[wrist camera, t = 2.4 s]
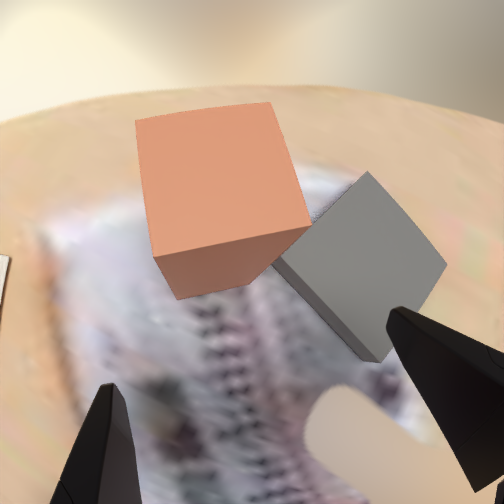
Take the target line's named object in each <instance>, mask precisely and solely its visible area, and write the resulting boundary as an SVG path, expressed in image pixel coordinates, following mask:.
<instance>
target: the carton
mask: <svg viewBox="0 0 504 504" xmlns="http://www.w3.org/2000/svg"><path fill="white" fill-rule="evenodd" d="M135 126H136V137H137V147H138V156H139V165H140V173H141V181H142V189H143V196H144V203H145V210H146V216H147V223H148V229H149V235H150V241H151V247H152V252H153V257H154V259H155V261H156V263H157V265H158V267H159V268H160V270H161V272H162V274H163V276H164V277H165V279H166V281H167V283H168V285H169V286H170V288H171V290H172V292H173V293H174V295H175V297H176V298H177V300H180V299H185V298H190V297H194V296H199V295H203V294H208V293H212V292H217V291H221V290H226V289H230V288H235V287H239V286H243V285H248V284H250V283H251V282H252V281H253V280H254V279H256V278H257V277H258V276H259V275H260V274H261V273H262V272H263V271H264V270H265V269H266V268H267V267H268V266H269V265H271V264H272V263H273V262H274V261H275V260H276V259H277V258H278V257H279V256H280V255H281V254H282V253H283V252H284V251H285V250H287V249H288V248H289V247H290V246H291V245H292V244H293V243H294V242H295V241H296V240H297V239H298V238H299V237H300V236H301V235H302V234H303V233H305V232H306V231H307V230H308V229H309V228H310V227H311V226H312V222H311V219H310V216H309V213H308V210H307V206H306V203H305V200H304V197H303V194H302V191H301V188H300V185H299V182H298V179H297V176H296V173H295V170H294V167H293V164H292V161H291V158H290V155H289V152H288V149H287V146H286V144H285V141H284V138H283V135H282V132H281V130H280V127H279V124H278V121H277V119H276V116H275V113H274V110H273V108H272V105H271V102H267V103H254V104H242V105H232V106H223V107H214V108H207V109H199V110H192V111H185V112H179V113H173V114H167V115H161V116H155V117H150V118H145V119H140V120H135Z"/></svg>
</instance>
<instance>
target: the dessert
mask: <svg viewBox="0 0 504 504" xmlns="http://www.w3.org/2000/svg"><path fill="white" fill-rule="evenodd" d="M8 261H9V256H6V255H2V254H0V304H1V298H2V292H3V286H4V281H5V276H6V271H7V266H8Z"/></svg>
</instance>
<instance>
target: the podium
mask: <svg viewBox="0 0 504 504" xmlns="http://www.w3.org/2000/svg"><path fill="white" fill-rule="evenodd" d="M272 266H273V267H274V268H275V269H276V270H277V271H278V272H279V273H280V274H281V275H282V276H283V277H284V278H285V279H286V280H287V281H288V282H289V283H290V285H291V286H292V287H293V288H294V289H295V290H296V291H297V292H298V293H299V294H300V295H301V296H302V297H303V298H304V299H305V300H306V301H307V302H308V303H309V304H310V305H311V307H312V308H313V309H314V310H315V311H316V312H317V313H318V314H319V315H320V316H321V317H322V318H323V319H324V320H325V321H326V322H327V323H328V324H329V325H330V326H331V328H332V329H333V330H334V331H335V332H336V333H337V334H338V335H339V336H340V337H341V338H342V339H343V340H344V341H345V342H346V343H347V344H348V345H349V346H350V348H351V349H352V350H353V351H354V352H355V353H356V354H357V355H358V356H359V357H360V358H361V359H362V360H363V361H366V362H375V363H381V362H382V361H383V360H384V358H385V357H386V356H387V354H388V353H389V352H390V350H391V349H392V348H393V344H392V342H391V340H390V338H389V336H388V334H387V332H386V323H387V320H388V316H389V313H390V310H391V309H393V308H395V307H398V306H404V307H406V308H408V309H410V310H412V311H415V312H418V311H419V309H420V308H421V306H422V305H423V303H424V302H425V300H426V299H427V297H428V296H429V294H430V292H431V291H432V289H433V288H434V286H435V284H436V283H437V281H438V280H439V278H440V276H441V275H442V273H443V271H444V270H445V268H446V266H447V263H446V262H445V260H444V259H443V258H442V257H441V255H440V254H439V253H438V251H437V250H436V249H435V248H434V246H433V245H432V244H431V243H430V241H429V240H428V239H427V238H426V236H425V235H424V234H423V233H422V232H421V230H420V229H419V228H418V227H417V226H416V224H415V223H414V222H413V221H412V220H411V218H410V217H409V216H408V215H407V214H406V213H405V211H404V210H403V209H402V208H401V207H400V206H399V205H398V203H397V202H396V201H395V200H394V199H393V198H392V197H391V196H390V195H389V193H388V192H387V191H386V190H385V189H384V188H383V187H382V186H381V185H380V184H379V183H378V182H377V181H376V179H375V178H374V177H373V176H372V175H371V174H370V173H369V172H368V171H367V172H366V173H365V174H364V175H363V176H361V177H360V178H359V179H358V180H357V181H356V182H355V183H354V184H353V185H352V186H351V187H350V188H349V189H348V190H347V191H346V192H345V193H344V194H343V195H342V196H341V197H340V198H339V199H338V200H337V201H336V202H335V203H334V204H333V205H332V206H331V207H330V208H329V209H328V210H327V211H326V212H325V213H324V214H323V215H322V216H321V217H320V218H319V219H318V220H317V221H316V222H315V223H314V224H313V225H312V226H311V227H310V228H309V229H308V230H307V231H306V232H305V233H304V234H303V235H302V236H301V237H300V238H299V239H298V240H297V241H295V242H294V243H293V244H292V245H291V246H290V247H289V248H288V249H287V250H286V251H285V252H284V253H283V254H282V255H281V256H280V257H279V258H278V259H277V260H276V261H275V262H274V263H273V264H272Z"/></svg>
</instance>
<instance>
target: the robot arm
mask: <svg viewBox="0 0 504 504" xmlns="http://www.w3.org/2000/svg"><path fill="white" fill-rule="evenodd" d="M386 332H387V334H388V336H389V338H390V340H391V342H392V344H393V346H394V348H395V350H396V352H397V354H398V356H399V358H400V360H401V362H402V364H403V366H404V368H405V370H406V371H407V373H408V375H409V376H410V378H411V380H412V381H413V383H414V385H415V386H416V388H417V390H418V391H419V393H420V395H421V396H422V398H423V400H424V401H425V403H426V405H427V406H428V408H429V410H430V411H431V413H432V415H433V417H434V418H435V420H436V422H437V424H438V425H439V427H440V429H441V431H442V432H443V434H444V436H445V438H446V440H447V441H448V443H449V445H450V447H451V449H452V450H453V452H454V454H455V456H456V458H457V460H458V462H459V464H460V465H461V467H462V469H463V471H464V473H465V475H466V477H467V479H468V481H469V482H470V485H471V487H472V488H473V490H474V492H475V493H476V492H478V491H479V490H481V489H483V488H484V487H486V486H487V485H489V484H490V483H492V482H494V481H495V480H497V479H498V478H499V477H501V476H502V475H504V353H502V352H500V351H498V350H496V349H493V348H491V347H489V346H487V345H485V344H483V343H481V342H479V341H476V340H474V339H472V338H470V337H468V336H466V335H464V334H462V333H460V332H457V331H455V330H453V329H451V328H449V327H447V326H445V325H442V324H440V323H438V322H436V321H434V320H432V319H430V318H427V317H425V316H423V315H421V314H419V313H417V312H415V311H412V310H410V309H408V308H406V307H404V306H398V307H395V308H393V309H391V310H390V313H389V316H388V320H387V323H386ZM60 480H61V481H60ZM60 480H59V481H58V484H57V486H56V489H55V491H54V494H53V496H52V499H51V501H50V504H142V500H141V494H140V487H139V480H138V472H137V464H136V455H135V447H134V442H133V438H132V433H131V428H130V423H129V418H128V413H127V407H126V403H125V399H124V397H123V396H122V394H121V393H120V391H119V389H118V388H117V386H116V385H115V384H114V383H107V384H102V385H101V386H100V388H99V390H98V392H97V394H96V396H95V398H94V400H93V402H92V405H91V407H90V409H89V411H88V413H87V416H86V418H85V420H84V422H83V424H82V427H81V429H80V431H79V433H78V436H77V438H76V440H75V443H74V445H73V447H72V450H71V452H70V454H69V457H68V459H67V462H66V464H65V467H64V469H63V472H62V474H61V477H60ZM495 504H504V479H503V480H502V481H501V482H500V483H499V484H498V486H497V492H496V498H495Z"/></svg>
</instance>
